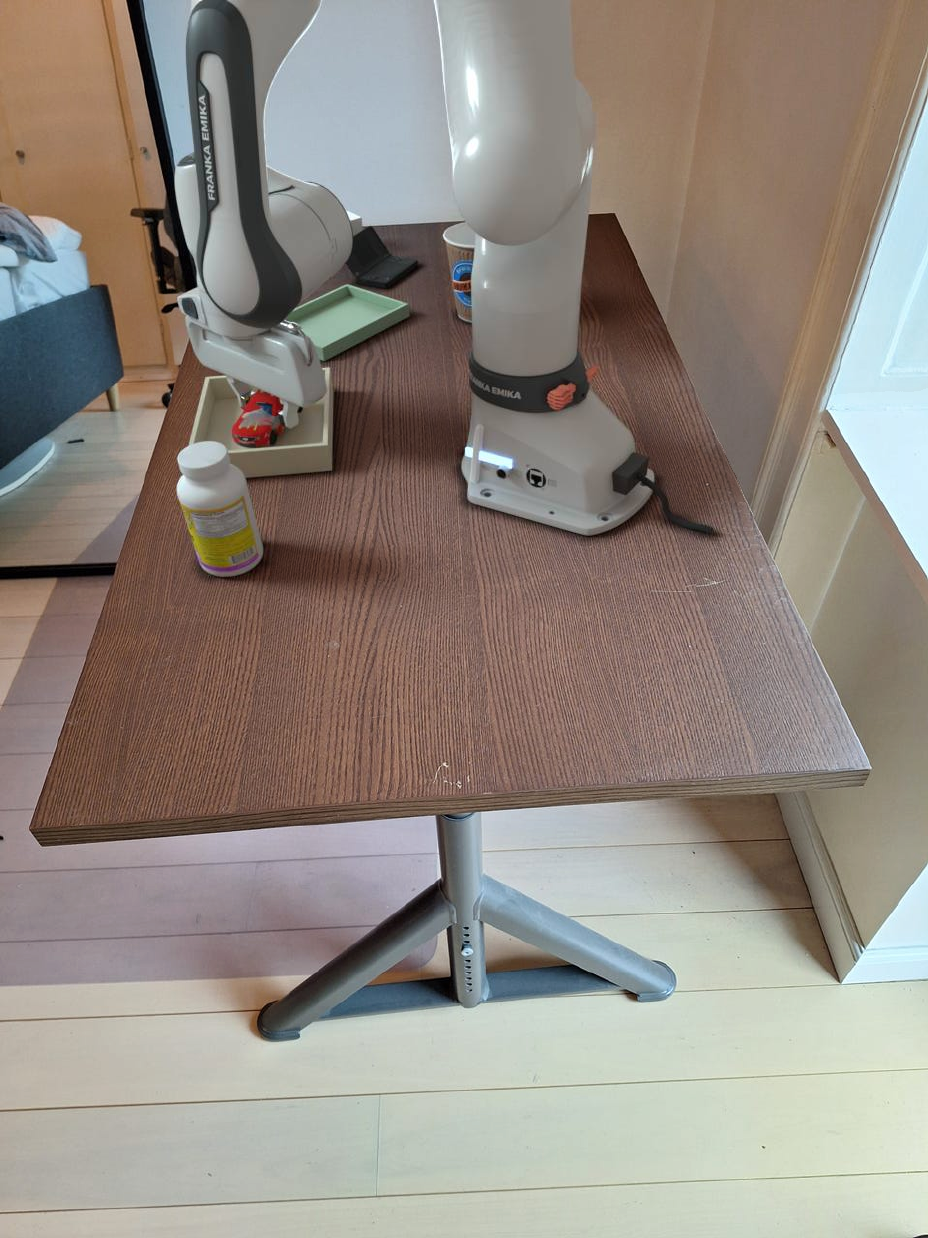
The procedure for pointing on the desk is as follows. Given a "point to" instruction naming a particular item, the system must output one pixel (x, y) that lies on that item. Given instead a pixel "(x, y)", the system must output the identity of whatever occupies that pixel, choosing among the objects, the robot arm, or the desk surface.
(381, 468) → the desk surface
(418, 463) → the desk surface
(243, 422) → the race car
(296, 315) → the tray
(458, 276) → the coffee cup
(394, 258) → the handheld gaming console
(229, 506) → the supplement bottle
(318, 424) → the cream shallow box
